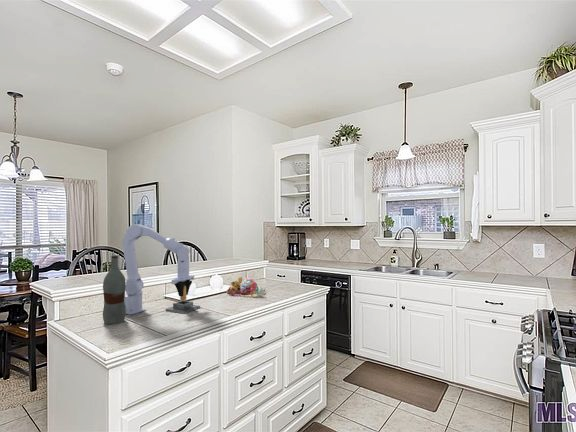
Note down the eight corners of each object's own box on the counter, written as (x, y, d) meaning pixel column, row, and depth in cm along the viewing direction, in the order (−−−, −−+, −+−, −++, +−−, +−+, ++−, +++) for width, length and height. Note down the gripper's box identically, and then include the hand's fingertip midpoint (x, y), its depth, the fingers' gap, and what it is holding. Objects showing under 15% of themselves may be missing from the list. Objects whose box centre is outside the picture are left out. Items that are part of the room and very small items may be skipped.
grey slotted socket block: (187, 314, 161) (187, 307, 162) (165, 310, 167) (165, 304, 167) (203, 308, 172) (203, 301, 172) (182, 305, 178) (182, 298, 178)
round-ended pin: (183, 300, 168) (183, 286, 168) (178, 300, 169) (178, 286, 170) (187, 299, 171) (187, 285, 171) (182, 298, 172) (182, 285, 172)
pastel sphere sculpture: (220, 295, 202) (220, 280, 202) (237, 288, 224) (237, 274, 224) (258, 298, 194) (258, 283, 194) (271, 290, 217) (271, 276, 217)
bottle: (100, 325, 144) (100, 257, 144) (105, 319, 153) (105, 255, 153) (123, 324, 146) (123, 256, 147) (127, 318, 155) (127, 254, 156)
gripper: (179, 271, 162) (179, 299, 162) (198, 267, 175) (198, 293, 175) (168, 270, 165) (168, 297, 165) (188, 266, 178) (188, 292, 178)
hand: (183, 295), depth 170 cm, fingers closed on round-ended pin, 3 cm apart
